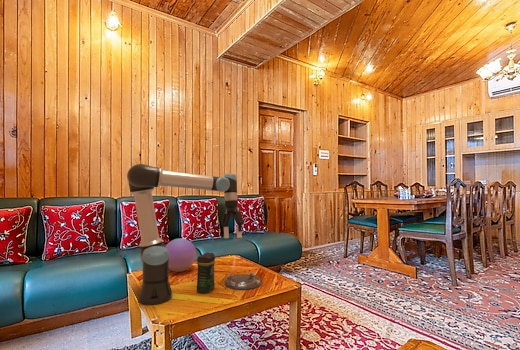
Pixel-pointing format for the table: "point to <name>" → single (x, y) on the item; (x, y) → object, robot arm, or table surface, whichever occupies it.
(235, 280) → the lug base plate
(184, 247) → the ball
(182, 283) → the table surface
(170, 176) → the robot arm
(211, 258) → the coffee jar
